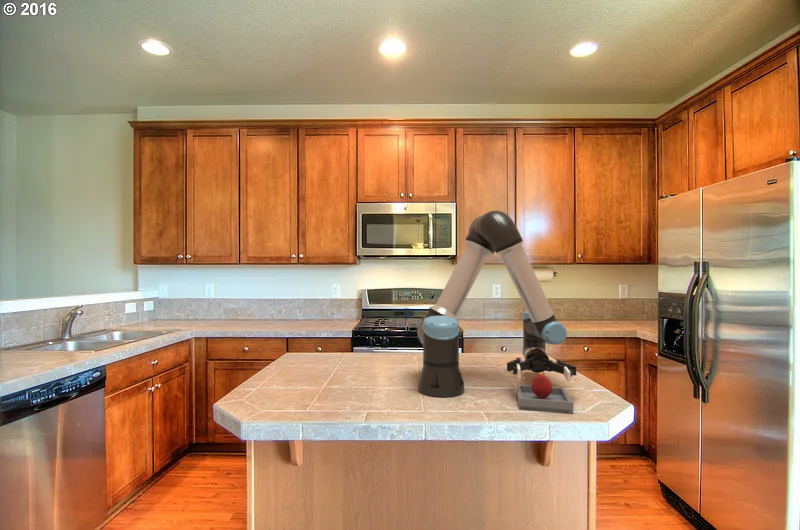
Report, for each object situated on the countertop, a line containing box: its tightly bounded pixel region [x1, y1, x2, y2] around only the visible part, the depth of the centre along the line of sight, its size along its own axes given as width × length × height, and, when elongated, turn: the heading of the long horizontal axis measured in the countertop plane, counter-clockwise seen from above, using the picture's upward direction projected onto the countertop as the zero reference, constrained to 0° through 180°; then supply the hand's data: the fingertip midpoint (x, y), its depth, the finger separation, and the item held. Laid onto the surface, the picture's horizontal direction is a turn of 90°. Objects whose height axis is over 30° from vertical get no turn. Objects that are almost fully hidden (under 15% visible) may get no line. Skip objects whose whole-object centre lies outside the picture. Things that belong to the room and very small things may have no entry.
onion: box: [531, 372, 554, 399], centre depth 112 cm, size 6×6×8 cm
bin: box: [515, 384, 574, 415], centre depth 112 cm, size 14×14×3 cm
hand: (543, 375), depth 110 cm, fingers open, 13 cm apart
